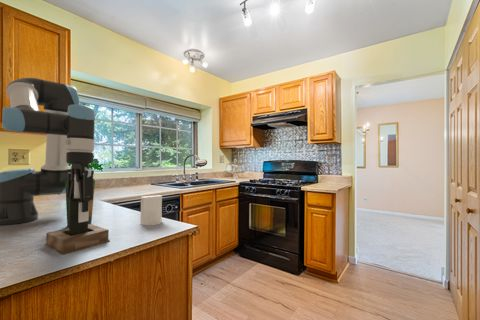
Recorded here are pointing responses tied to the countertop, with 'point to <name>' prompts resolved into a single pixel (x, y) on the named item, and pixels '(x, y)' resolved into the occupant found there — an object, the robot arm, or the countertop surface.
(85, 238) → the walnut holder
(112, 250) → the countertop surface
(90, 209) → the bottle
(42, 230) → the countertop surface
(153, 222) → the white upright cylinder
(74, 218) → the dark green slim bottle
